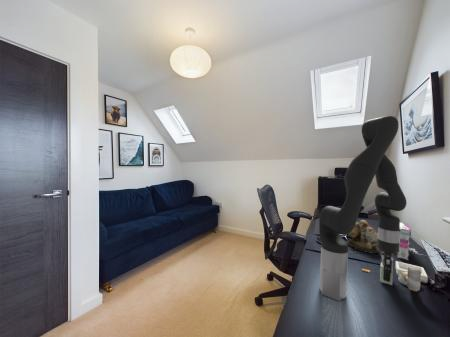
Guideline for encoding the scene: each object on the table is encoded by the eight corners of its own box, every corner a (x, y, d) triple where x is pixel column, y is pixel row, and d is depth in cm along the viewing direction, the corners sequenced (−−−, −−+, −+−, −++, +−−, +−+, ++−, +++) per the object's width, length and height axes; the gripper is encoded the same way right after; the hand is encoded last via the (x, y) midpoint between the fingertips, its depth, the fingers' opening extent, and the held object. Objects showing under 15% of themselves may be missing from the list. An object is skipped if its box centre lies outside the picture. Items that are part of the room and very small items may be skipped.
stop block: (392, 285, 84) (393, 268, 83) (380, 281, 86) (381, 265, 86) (391, 281, 87) (392, 265, 87) (380, 277, 89) (380, 262, 89)
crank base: (418, 282, 86) (418, 278, 86) (421, 290, 80) (422, 285, 80) (362, 267, 98) (362, 263, 98) (361, 273, 92) (362, 268, 92)
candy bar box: (409, 261, 106) (411, 230, 106) (397, 258, 109) (398, 228, 109) (408, 254, 115) (409, 225, 114) (396, 251, 118) (397, 224, 117)
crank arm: (400, 273, 89) (401, 255, 88) (416, 277, 86) (417, 258, 85) (405, 290, 76) (406, 269, 76) (423, 295, 73) (424, 273, 73)
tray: (427, 283, 85) (427, 276, 85) (397, 275, 91) (397, 268, 91) (422, 273, 93) (423, 267, 93) (395, 266, 99) (395, 260, 99)
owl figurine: (341, 244, 126) (342, 217, 126) (350, 241, 132) (351, 215, 132) (375, 256, 111) (376, 225, 111) (383, 251, 117) (384, 222, 117)
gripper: (401, 246, 78) (399, 289, 78) (397, 236, 89) (396, 273, 90) (377, 241, 82) (375, 282, 83) (376, 232, 94) (375, 268, 94)
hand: (386, 277), depth 86 cm, fingers open, 5 cm apart
